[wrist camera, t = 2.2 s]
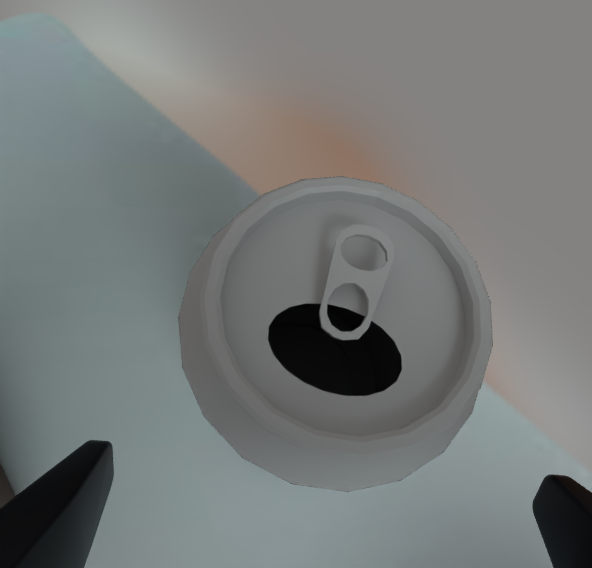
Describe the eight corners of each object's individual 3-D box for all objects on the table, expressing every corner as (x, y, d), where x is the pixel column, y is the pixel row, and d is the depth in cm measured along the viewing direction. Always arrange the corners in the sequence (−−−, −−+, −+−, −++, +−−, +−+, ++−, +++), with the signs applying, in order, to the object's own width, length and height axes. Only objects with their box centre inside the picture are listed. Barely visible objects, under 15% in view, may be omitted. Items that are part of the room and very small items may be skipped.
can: (186, 440, 18) (92, 421, 7) (244, 289, 21) (241, 108, 10) (349, 494, 18) (515, 561, 7) (385, 335, 21) (540, 203, 10)
